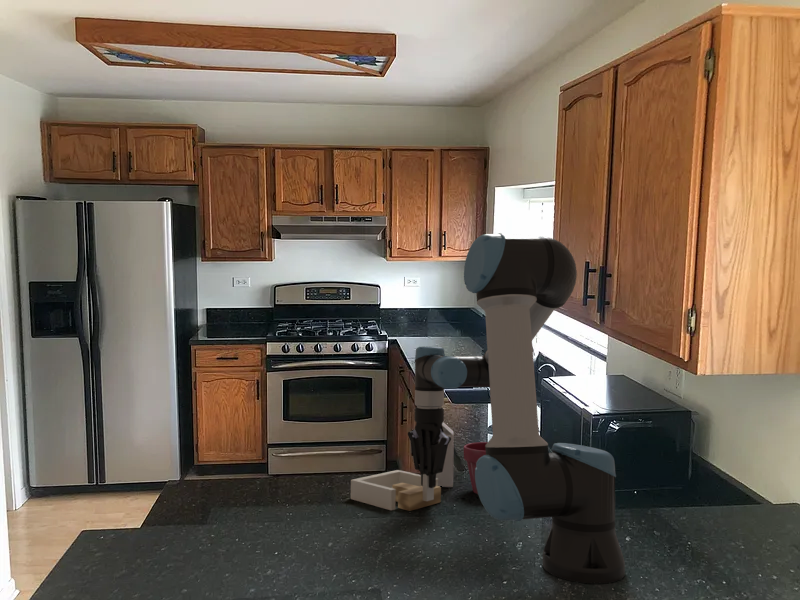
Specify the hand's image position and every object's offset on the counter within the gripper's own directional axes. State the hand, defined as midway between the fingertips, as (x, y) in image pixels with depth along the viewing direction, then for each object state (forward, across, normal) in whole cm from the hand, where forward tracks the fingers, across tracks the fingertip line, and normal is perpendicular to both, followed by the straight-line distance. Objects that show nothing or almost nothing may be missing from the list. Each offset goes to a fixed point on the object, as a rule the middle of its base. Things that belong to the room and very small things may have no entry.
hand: (428, 499), depth 166 cm
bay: (+2, +12, 0) cm, 12 cm away
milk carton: (+2, +13, -21) cm, 25 cm away
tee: (+2, +6, 0) cm, 6 cm away
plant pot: (+2, -2, -24) cm, 24 cm away
